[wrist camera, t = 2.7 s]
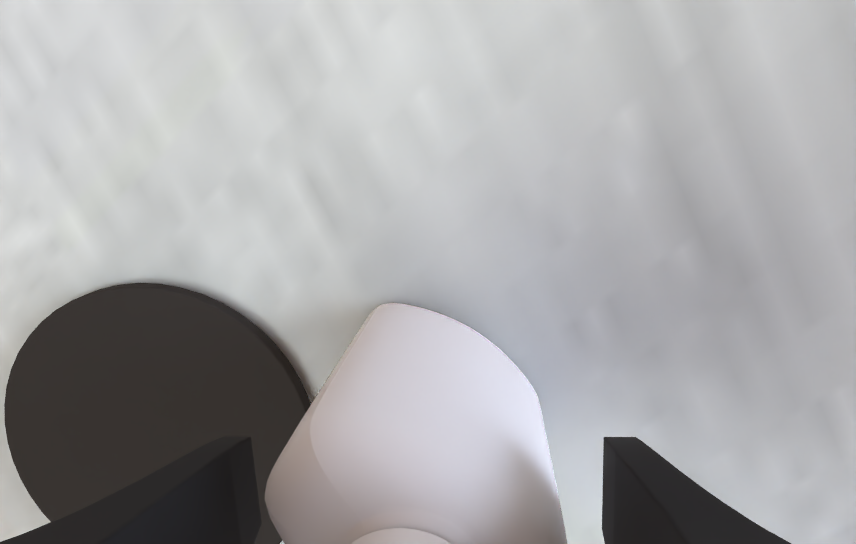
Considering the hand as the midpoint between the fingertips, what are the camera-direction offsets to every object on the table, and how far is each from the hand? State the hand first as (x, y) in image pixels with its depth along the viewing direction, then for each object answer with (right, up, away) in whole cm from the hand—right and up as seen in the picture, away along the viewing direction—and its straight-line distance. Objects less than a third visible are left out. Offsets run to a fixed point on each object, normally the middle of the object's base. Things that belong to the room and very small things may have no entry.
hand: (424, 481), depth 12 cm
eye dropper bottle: (+1, +1, +6) cm, 6 cm away
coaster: (-8, -1, +7) cm, 11 cm away
